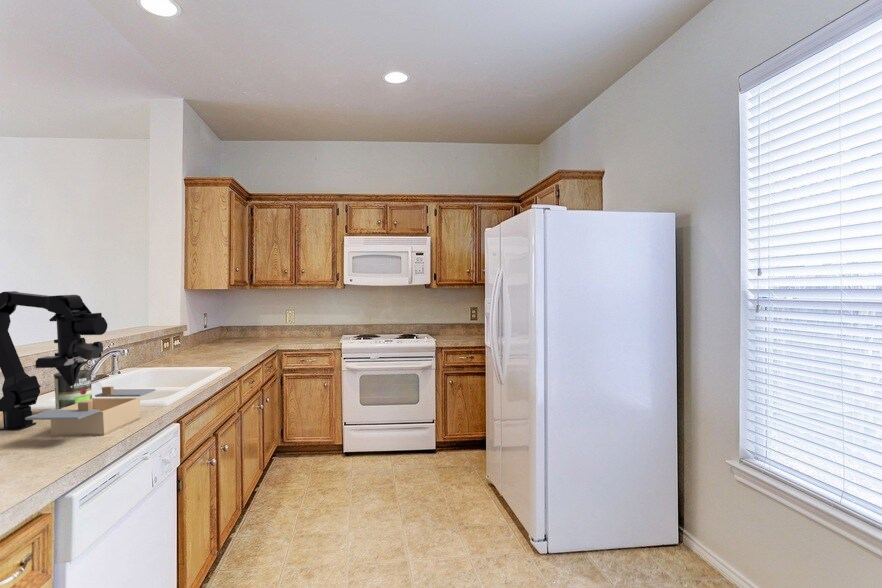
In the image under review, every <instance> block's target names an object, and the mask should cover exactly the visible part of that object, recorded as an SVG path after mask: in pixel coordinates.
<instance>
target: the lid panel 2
mask: <svg viewBox="0 0 882 588" xmlns="http://www.w3.org/2000/svg"><path fill="white" fill-rule="evenodd" d="M155 391H156V389H155V388H134V389H133V388H125V389H123V388H121V389H118V388H117V389H114V386H102V387H101V392H100V393H97V394H94V397H95V398H111V397H112V398H137V397H142V396H145V395H149V394H150V393H153V392H155Z"/></svg>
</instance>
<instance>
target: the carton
mask: <svg viewBox="0 0 882 588" xmlns="http://www.w3.org/2000/svg"><path fill="white" fill-rule="evenodd" d="M83 402H91V409H100V412H97V413H94V414H92V415H89V416H86V417H84V418H81V419H78V420H50V429H51V430H50V431H51V432H50V433H51V436H52V437H57V436H58V437H59V436H60V437H61V436H63V437H64V436H67V437H68V436H69V437H71V436H73V437H75V436H76V437H78V436H79V437H80V436H84V437H85V436H92V437H93V436H106V435H108V434H111V433H113V432H115V431H117V430H119V429H122V428H125V427H126V426H128V425H130V424H133V423H135V422H137V421H140V420H141V419H142V418H141V397H112V398H111V397H95V398H93V397H92V399H89V400H86V401H83ZM58 410H78V403H77V404H74V405H71V406H68V407H64V408H61V409H58Z"/></svg>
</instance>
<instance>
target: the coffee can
mask: <svg viewBox="0 0 882 588" xmlns="http://www.w3.org/2000/svg"><path fill="white" fill-rule="evenodd" d="M53 378H54V381H53V382H54V397H55V401H54V402H55V410H58V409H61V408H64V407H68V406H71V405H74V404H77V403H79V402H83V401H86V400H89V399H92V398H93V391H92V370H90V369H80V371H79V373H78V376H77V379H76V382H75V384H74V385H73V386H69V385H68V384H67V382H66V381H65V379H64V378H63V376H62V375H61V374H60V373H59V372H56V373H54V374H53Z"/></svg>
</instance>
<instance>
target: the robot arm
mask: <svg viewBox="0 0 882 588" xmlns="http://www.w3.org/2000/svg"><path fill="white" fill-rule="evenodd" d="M17 306H20V307H21V306H22V307H29V308H38V309H39V308H40V309H44V310H47V311H48V312H51V313H54V315H53V316H51V317H50V318H49V322H56V330H57V331H56V335H57V339H54V340H53V343H54V344H57V352H55V353H54V356H51V355H50V356H49V355H48V356H42V357H37V359H36V360H35V369H46V368H47V369H48V368H49V369H50V368H51V369H52V368H55V369H56V370H57V372H58V373H60V374H61V375H62V376H63V378H64V379H65V381H66V382H67V384H68V385H69V386H73V385H74V384H75V382H76V379H77V376H78V373H79V371H80V370H81V369H82V367H83V366H84V365H86V364H88V362H89V361H90V360H92V359H100V358H102V353H103V352H104V345H103V342H102V341H94V342H93V343H87V342H86V338H85V337H82V336H101V335H104V334H105V333H106V332H107V330H108V322H107V320H106V318H104V317H103V315H102V314H103V313H102V312H95V313H92V312H91V310H90V309H89V307H88V306H87V305H86V303H84V301H83V299H82V298H81V296H80V295H78V294H64V295H63V294H62V295H46V294H37V293H36V294H35V293H27V292H19V291H17V290H16V291H15V290H13V291H3V292H0V371H1V373H2V375H3V376H2V377H3V379H4V380H3V383H2V387H1V391H2V397H1V398H0V412H1V413H2V418H3V419H2V420H3V421H2V422H3V423H2V424H3V426H2V427H0V431H20V430H23V429H25V428H28V427H31V426H34V425H36V424H37V422H35V421H34V420H25V418H26V417H29V416H32V415H33V411H32V406H34V405H36V404H37V400H38V398H39V396H40V394H41V384H39V381H38V378H37V376H36V375H31V376H30V375H29V374H28V373H26V372H25V369H24V366H23V364H22V361H21V359H20V357H19V355H18V352H17V349H16V347H15V345H14V342H13V340H12V337H11V335H10V332H9V328H10V325H11V321H12V320H11V318H10V315H12V314H13V313H15V311H16V309H17ZM84 360H87V361H84ZM33 421H34V422H33Z"/></svg>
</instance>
